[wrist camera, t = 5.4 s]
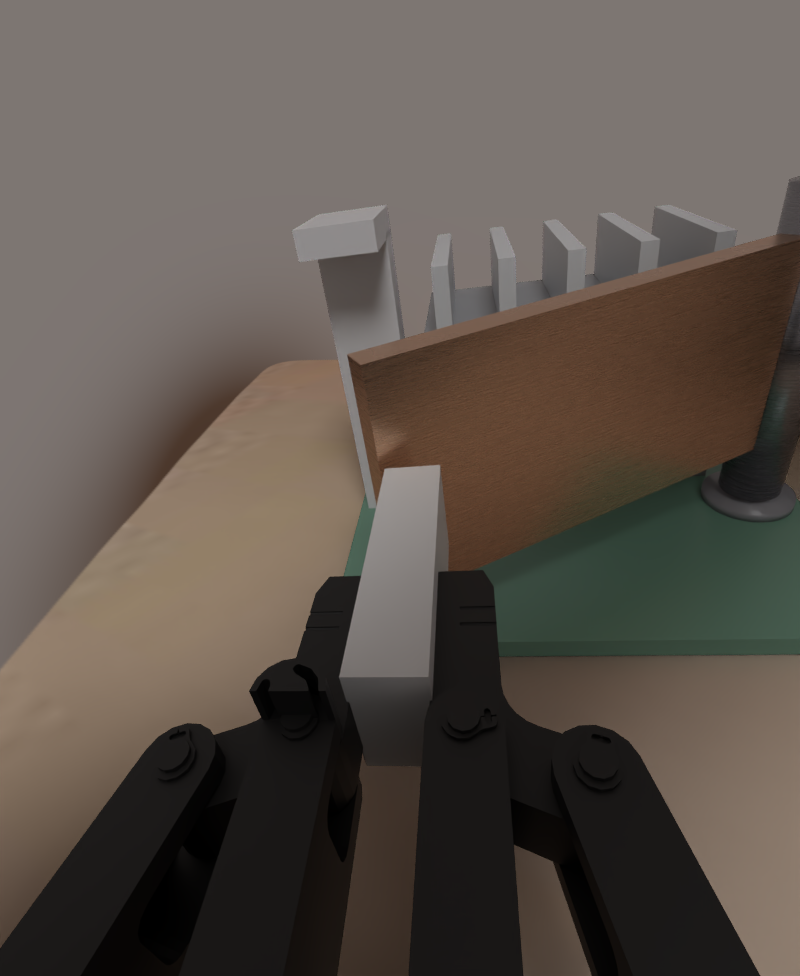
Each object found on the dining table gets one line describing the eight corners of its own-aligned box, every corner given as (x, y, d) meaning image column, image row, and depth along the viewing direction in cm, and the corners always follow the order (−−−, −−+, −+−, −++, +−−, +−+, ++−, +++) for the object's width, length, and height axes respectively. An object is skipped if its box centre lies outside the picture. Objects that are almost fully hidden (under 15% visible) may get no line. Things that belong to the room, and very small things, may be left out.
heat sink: (700, 405, 33) (753, 133, 25) (911, 653, 18) (1221, 143, 10) (387, 429, 36) (347, 193, 28) (329, 657, 21) (208, 273, 13)
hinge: (743, 465, 25) (820, 170, 18) (794, 488, 23) (901, 169, 16) (393, 619, 20) (326, 289, 13) (421, 665, 18) (360, 307, 11)
